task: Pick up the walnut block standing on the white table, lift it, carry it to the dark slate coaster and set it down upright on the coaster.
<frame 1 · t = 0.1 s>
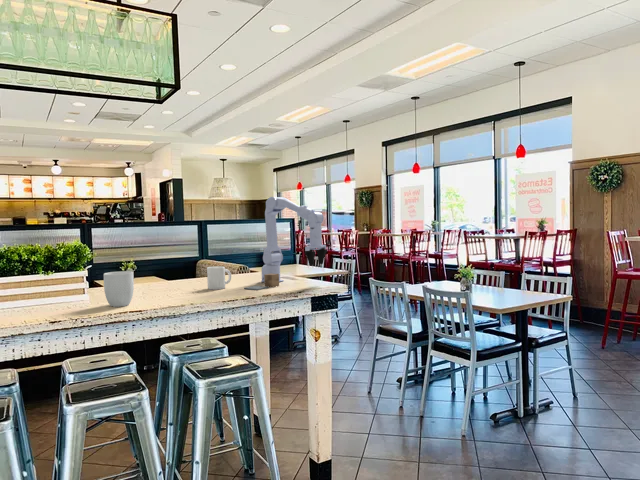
hand: (316, 264, 236), 10 cm above the table, fingers open, 7 cm apart
slate coaster: (256, 288, 230), on the table
walnut block: (271, 286, 236), on the table
mug 2: (120, 305, 194), on the table
mug: (220, 288, 234), on the table
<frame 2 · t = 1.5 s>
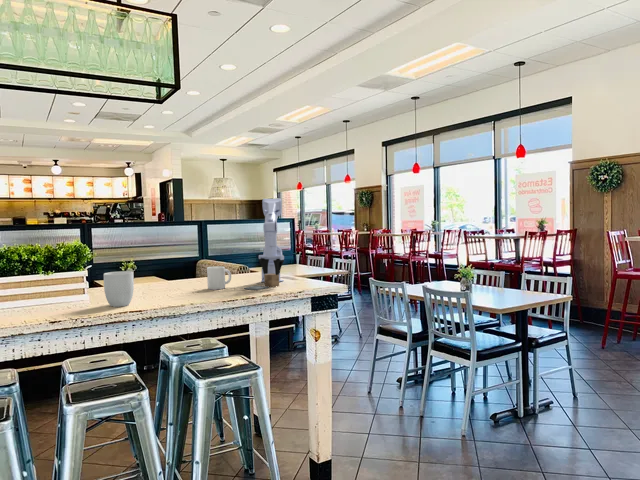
hand: (271, 274, 236), 6 cm above the table, fingers open, 7 cm apart
nothing on the table moved.
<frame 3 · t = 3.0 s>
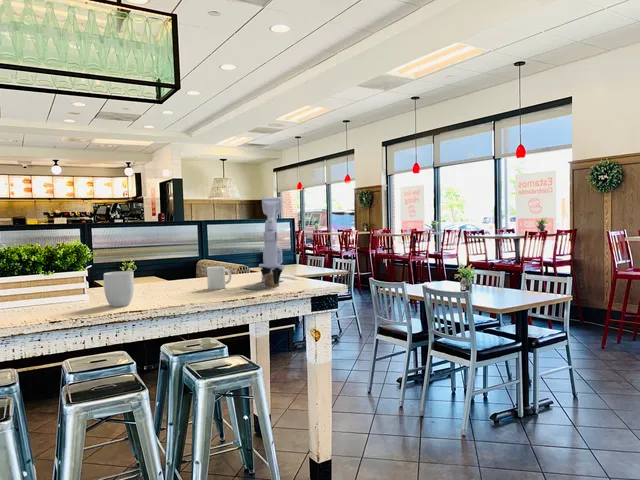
hand: (271, 283, 236), 1 cm above the table, fingers closed on walnut block, 5 cm apart
walnut block: (271, 286, 236), on the table, touching gripper
everything else where it was.
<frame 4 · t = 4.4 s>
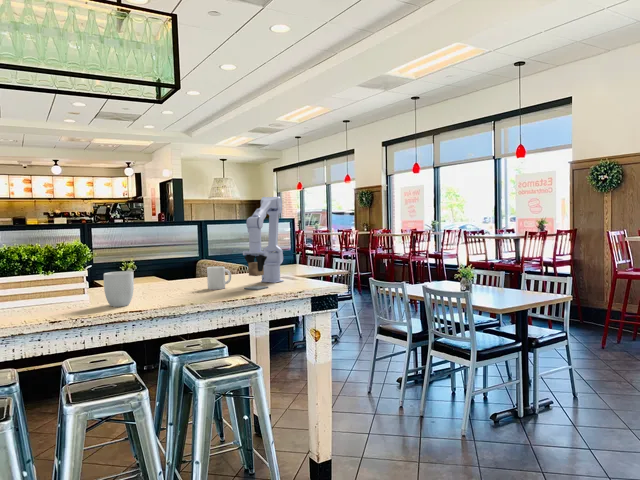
hand: (255, 270, 230), 8 cm above the table, fingers closed on walnut block, 5 cm apart
walnut block: (256, 275, 230), point 6 cm above the table, touching gripper
everything else where it was.
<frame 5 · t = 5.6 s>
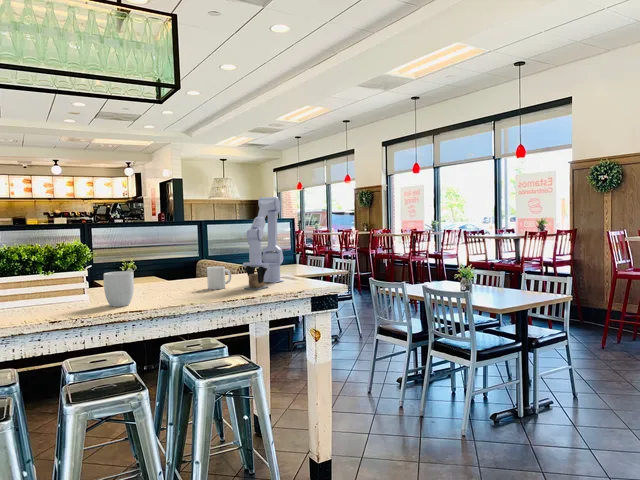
hand: (256, 282, 230), 3 cm above the table, fingers closed on walnut block, 5 cm apart
walnut block: (256, 286, 230), point 1 cm above the table, touching gripper
everything else where it was.
when the fingers open (3 cm above the table, at t = 6.3 s): walnut block stays where it is, resting on slate coaster.
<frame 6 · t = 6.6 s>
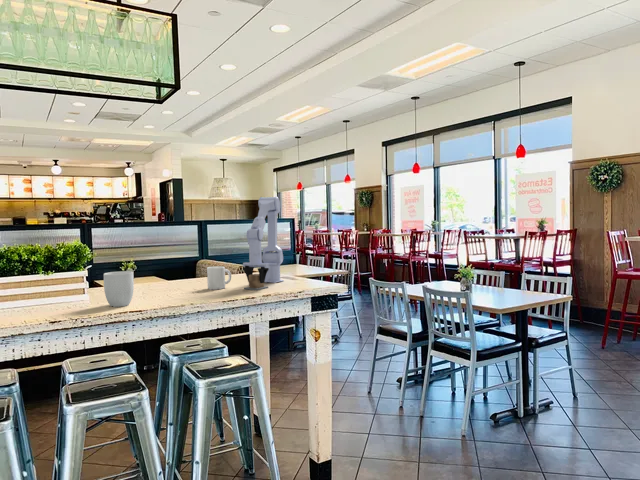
hand: (256, 282, 230), 3 cm above the table, fingers open, 7 cm apart
walnut block: (256, 287, 230), point 1 cm above the table, touching slate coaster
everything else where it was.
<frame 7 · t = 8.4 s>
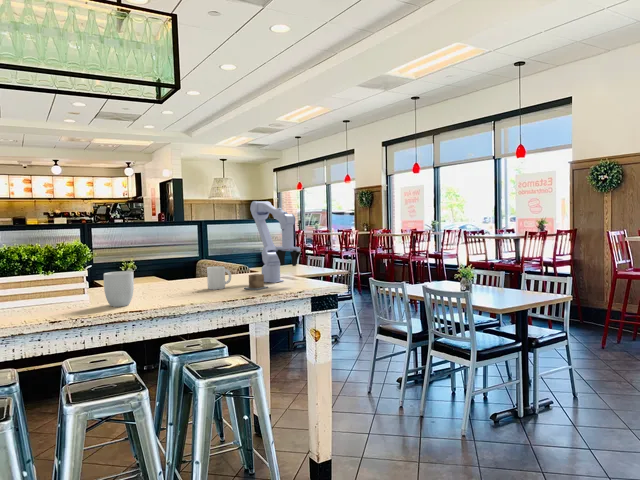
hand: (288, 265, 241), 9 cm above the table, fingers open, 7 cm apart
nothing on the table moved.
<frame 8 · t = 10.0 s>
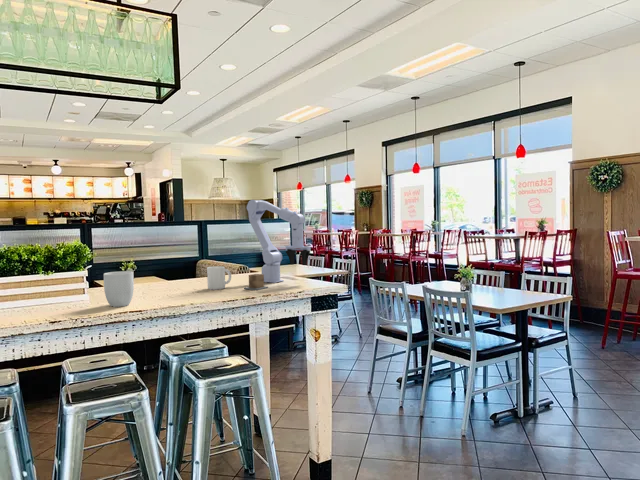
hand: (298, 264, 245), 9 cm above the table, fingers open, 7 cm apart
nothing on the table moved.
at the end: walnut block inside the target area on the slate coaster (0.2 cm from its centre), point 0.6 cm above the slate coaster's base; walnut block tilted 0°; the gripper is holding nothing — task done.
